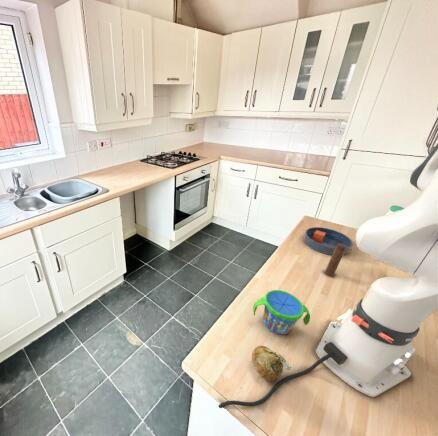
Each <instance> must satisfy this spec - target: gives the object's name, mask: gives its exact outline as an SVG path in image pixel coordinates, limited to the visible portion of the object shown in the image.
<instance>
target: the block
mask: <svg viewBox="0 0 438 436" xmlns="http://www.w3.org/2000/svg"><path fill="white" fill-rule="evenodd" d="M325 234H326V233H324V232H321V231H318V230H316V231H315V233H314V235H313V238H312V240H314V241H316V242H319V243H322V241H323V239H324V237H325Z"/></svg>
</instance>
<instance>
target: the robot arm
mask: <svg viewBox="0 0 438 436" xmlns="http://www.w3.org/2000/svg"><path fill="white" fill-rule="evenodd" d="M436 99H437V100H436V104H437V108H436V112H438V98H436ZM409 183H410V185H412V186H413V187H414V188H416V189H417V190H419V191H420V192H421V193H420V195H419V196H418V197H417V198H416V199H415V200H414V201H413V202H412V203H410V204H409V205H407V206H406V207H403V208H404V209H402V210H399V211H395V212H392V213H389V214H387V213H386V214H387V215H386V214H384V215H380V216H375V217H372V218H370V219H368V220H366V221H365V222H363V223H362V224H361V225H360V226H359V227H358V228H357V231H356V234H355V244H356V247H357V249H358V250H359V251H361V252H362V253H364V254H365V255H367V256H369V257H371V258H372V259H374V260H375V261H378V262H380V263H381V264H385V265H387V266H390V267H392V268H394V269H396V270H399V271H402V272H404V273H406V274H408V275H411V276H413V277H401V276H385V277H384V276H383V277H381V278H378V279H375V280H374V281H373V282H372V283H371V285H370V287H369V288H368V290H367V292H366V294H365V295H364V297H363V298H361V299H360V300H359V302H358V303H357V304H356V305H355V307H354V308H348V309H347V311H346V313H344V314H342V315H340V316H338V317H337V320H338V321H335V320H332V321H331V322H330V323H329V324H328V326H327V328H326V330H325V332H324V334H323V335H322V337H321V340H320V341H319V343H318V345H317V347H316V349H315V354H316V355H317V357H318V358H319V359H318V360H316V361H315V362H314V363H313V364H312V365H311V366H309V367H308V368H306V369H304V370H301V371H299V372H297V373H293V374H289V375H288V376H285V377H283V378H281V379H280V380H278V381H277V382H276V383H275V384H274V385H273V387H272V388H270V390H269V391H268V392H267V393H266V395H264V396H263V397H262V398H260V399H258V400H256V401H241V400H226V401H223V402H221V403H219V404H218V408H219V409H223V408H224V407H228V406H242V407H257V406H260V405H262V404H263V403H266V401H268V400H269V399H270V398H271V397H272V396H273V394H274V393H275V392H276V391H277V389H278V388H279V387H280V386H282V385H283V384H285V383H286V382H288V381H290V380H293V379H296V378H299V377H303V376H305V375H306V374H307V375H308V374H309V373H310V372H312V371H313V370H315V369H316V368H317V367H318V366H319V365H320V364H322V363H323V364H324V365H325V366H326V367H327V368H328V369H329V370H330V371H331V372H332V373H333V374H334V375H336V376H337V377H338V378H339V379H341V380H342V381H343V382H345V383H346V384H347V385H348V386H350V387H352V388H353V389H354V390H356V391H358V392H360V393H362V394H364V395H366V396H369V397H370V398H376V397H377V396H380V395H381V394H383V393H384V392H386V391H388V390H390V389H392V388H393V387H395V386H396V385H399V384H400V383H402V382H403V381H405V380H407V379H409V378H410V376H411V375H412V373H411V371H410V369H409V368H408V367H407V366H406V364H408V362H409V361H411V359H410V358H411V357H412V355H413V354H414V353H415V351H416V348H415V346H414V344H413V340H414V339H415V338H416V337H417V336H418V334H419V332H420V327H421V325H422V324H423V323H424V322H425V321H426V320H427V319H428V318H429V317H430V316H431V315H433V313H434V312H436V311H437V310H438V143H436V145H435V146H434V147H433V149H432V150H431V151H430V153H429V154H428V155H427V156H426V158H425V159H424V160H423V162H421V164H419V165H418V166H417V167H416V168H415V169H413V171H412V172H411V175H410V178H409ZM341 319H342V320H341ZM339 320H341V322H339Z"/></svg>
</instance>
